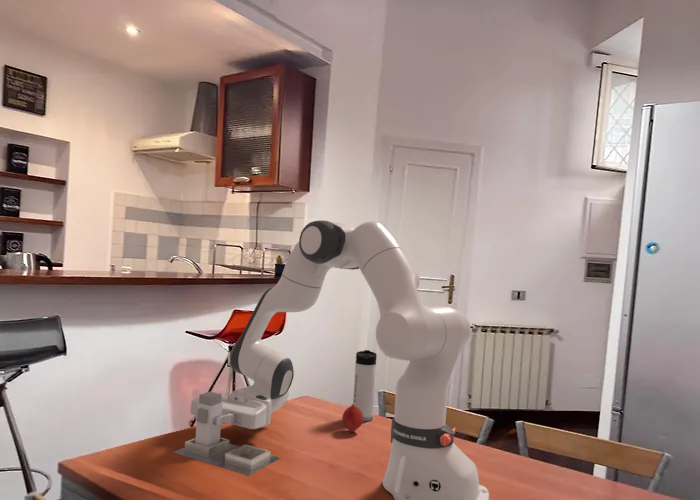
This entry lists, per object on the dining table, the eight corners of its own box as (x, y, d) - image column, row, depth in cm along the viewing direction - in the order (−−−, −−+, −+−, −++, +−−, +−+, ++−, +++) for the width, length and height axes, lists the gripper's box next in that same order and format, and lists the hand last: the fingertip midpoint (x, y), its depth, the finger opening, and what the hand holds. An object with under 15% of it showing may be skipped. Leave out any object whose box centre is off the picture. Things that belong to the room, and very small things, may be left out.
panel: (280, 462, 124) (281, 449, 124) (248, 480, 114) (249, 466, 114) (207, 441, 134) (208, 429, 134) (172, 456, 124) (173, 443, 124)
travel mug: (373, 415, 164) (377, 350, 164) (372, 422, 158) (376, 354, 158) (353, 413, 165) (357, 349, 165) (351, 420, 158) (355, 353, 158)
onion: (338, 429, 150) (339, 400, 150) (356, 427, 152) (358, 399, 152) (346, 436, 144) (348, 406, 145) (365, 434, 147) (367, 405, 147)
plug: (219, 448, 128) (222, 394, 128) (205, 454, 123) (209, 398, 123) (206, 444, 129) (209, 391, 129) (192, 450, 125) (195, 395, 125)
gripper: (213, 386, 143) (174, 398, 131) (276, 400, 134) (241, 414, 121) (211, 410, 143) (173, 423, 131) (274, 425, 134) (239, 441, 121)
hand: (206, 419), depth 126 cm, fingers closed on plug, 4 cm apart
